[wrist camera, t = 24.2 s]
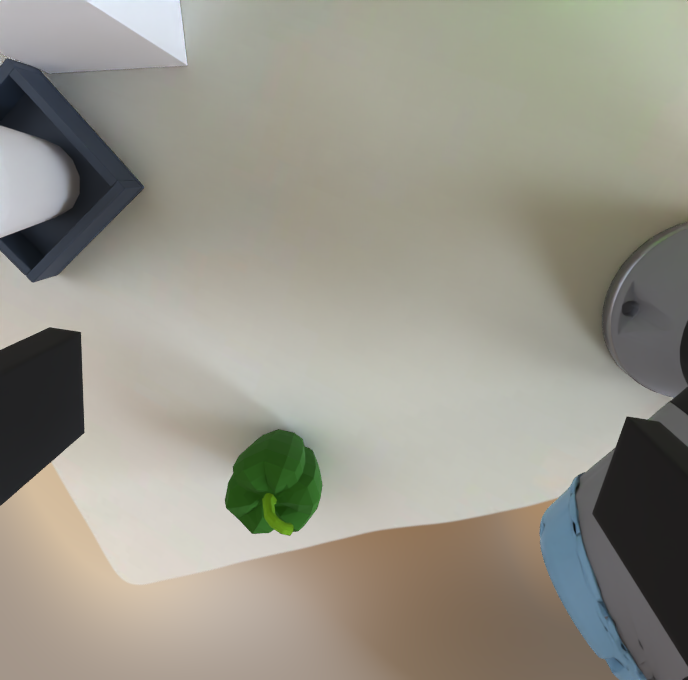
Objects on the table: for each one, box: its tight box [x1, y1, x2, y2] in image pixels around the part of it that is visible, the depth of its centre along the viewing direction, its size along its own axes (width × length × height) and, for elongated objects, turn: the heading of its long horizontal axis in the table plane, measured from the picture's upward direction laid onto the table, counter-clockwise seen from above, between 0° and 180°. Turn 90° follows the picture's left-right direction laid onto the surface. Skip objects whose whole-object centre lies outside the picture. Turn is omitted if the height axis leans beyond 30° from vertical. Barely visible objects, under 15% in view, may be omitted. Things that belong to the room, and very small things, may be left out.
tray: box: [0, 58, 144, 282], centre depth 41 cm, size 12×12×4 cm
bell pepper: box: [225, 429, 322, 536], centre depth 45 cm, size 8×8×10 cm
